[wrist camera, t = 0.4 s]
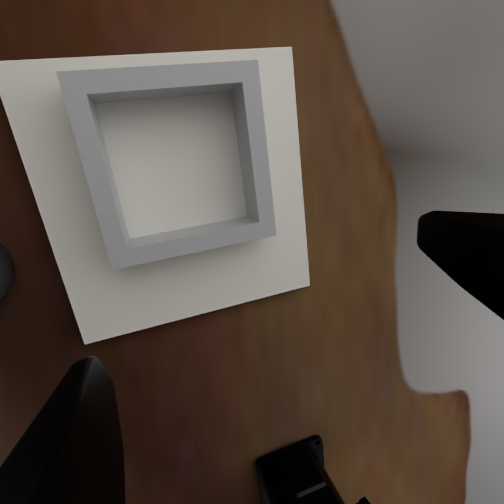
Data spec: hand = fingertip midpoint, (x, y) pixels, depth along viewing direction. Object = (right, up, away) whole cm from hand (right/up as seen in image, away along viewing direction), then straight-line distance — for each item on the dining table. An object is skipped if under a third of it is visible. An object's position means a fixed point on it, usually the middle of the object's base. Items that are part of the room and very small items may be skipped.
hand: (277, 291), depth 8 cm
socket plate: (-5, +5, +13) cm, 14 cm away
